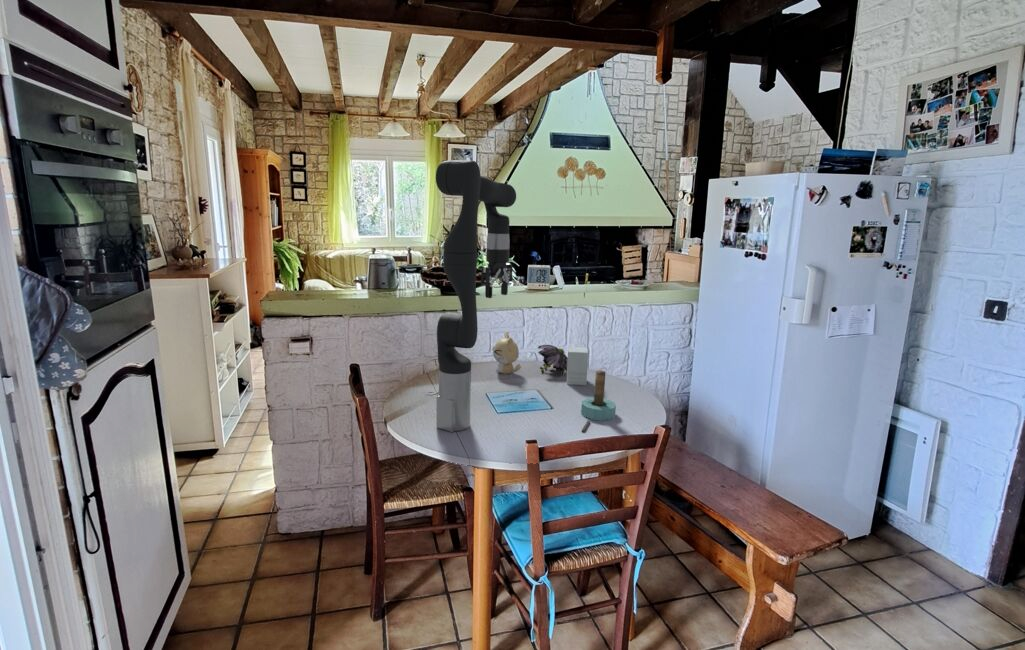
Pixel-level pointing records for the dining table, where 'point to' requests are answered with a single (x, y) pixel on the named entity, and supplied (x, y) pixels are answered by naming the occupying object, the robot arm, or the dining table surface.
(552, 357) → the decorative flower
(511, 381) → the dining table surface
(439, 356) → the robot arm
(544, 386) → the dining table surface
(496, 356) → the kitten
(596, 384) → the brown wooden rod
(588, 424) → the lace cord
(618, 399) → the dining table surface
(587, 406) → the teal ring
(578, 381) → the supplement box
